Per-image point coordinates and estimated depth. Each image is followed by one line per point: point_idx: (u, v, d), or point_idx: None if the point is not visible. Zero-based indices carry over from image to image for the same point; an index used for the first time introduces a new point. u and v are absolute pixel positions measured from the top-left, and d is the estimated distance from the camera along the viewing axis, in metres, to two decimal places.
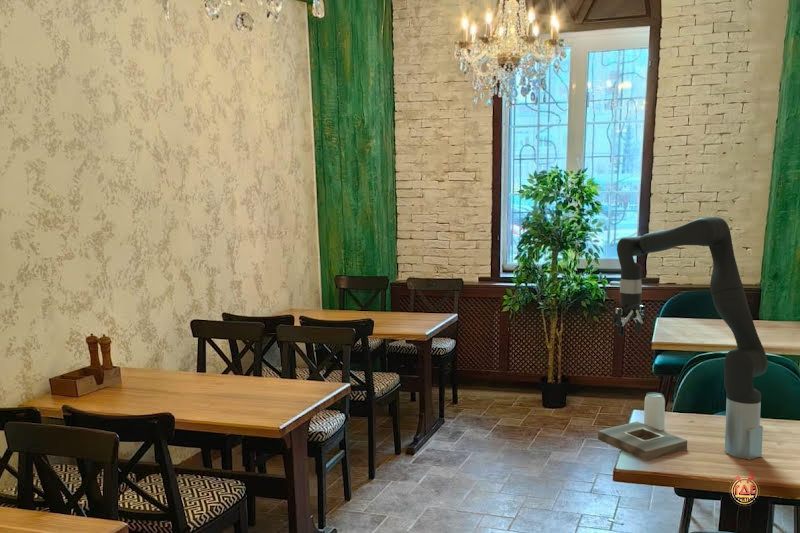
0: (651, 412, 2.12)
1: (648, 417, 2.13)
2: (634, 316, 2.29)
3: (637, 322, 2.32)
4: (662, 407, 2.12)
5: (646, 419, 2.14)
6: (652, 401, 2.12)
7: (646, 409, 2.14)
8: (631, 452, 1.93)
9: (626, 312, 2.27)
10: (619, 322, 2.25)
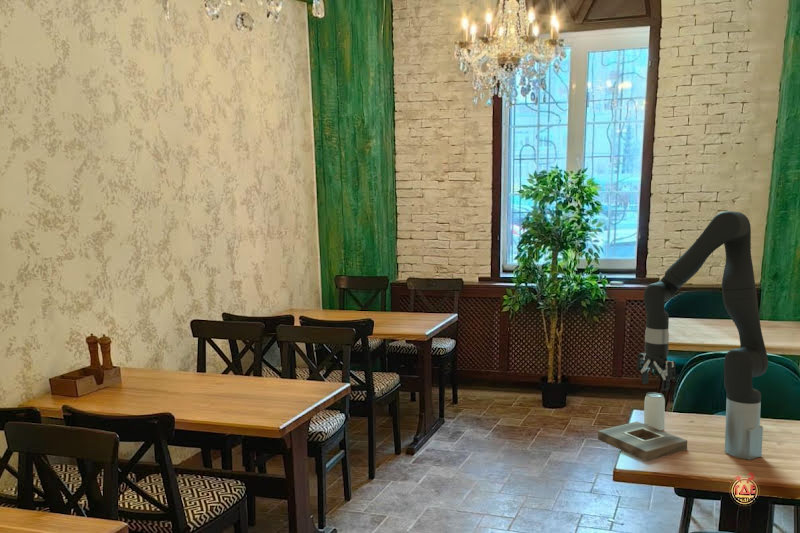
0: (651, 412, 2.12)
1: (648, 417, 2.13)
2: None
3: (645, 372, 2.17)
4: (662, 407, 2.12)
5: (646, 419, 2.14)
6: (652, 401, 2.12)
7: (646, 409, 2.14)
8: (631, 452, 1.93)
9: None
10: None
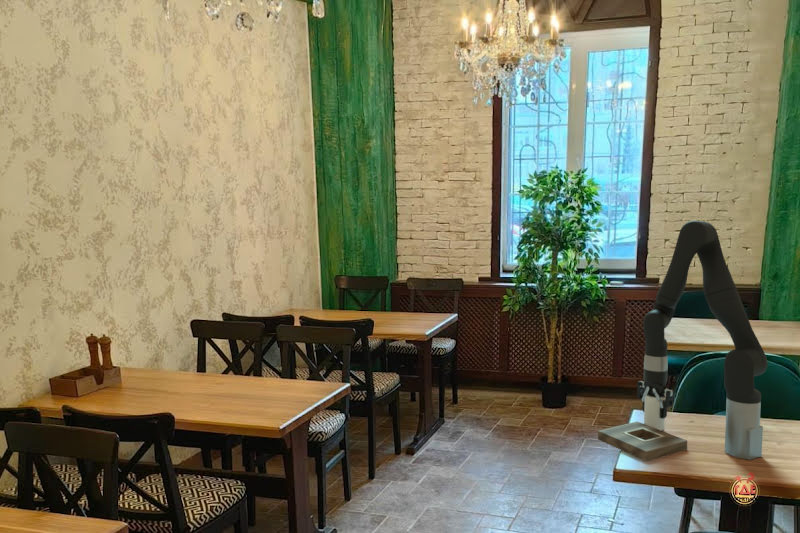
0: (651, 412, 2.12)
1: (648, 417, 2.13)
2: None
3: None
4: None
5: (646, 419, 2.14)
6: (652, 401, 2.12)
7: (646, 409, 2.14)
8: (631, 452, 1.93)
9: None
10: None
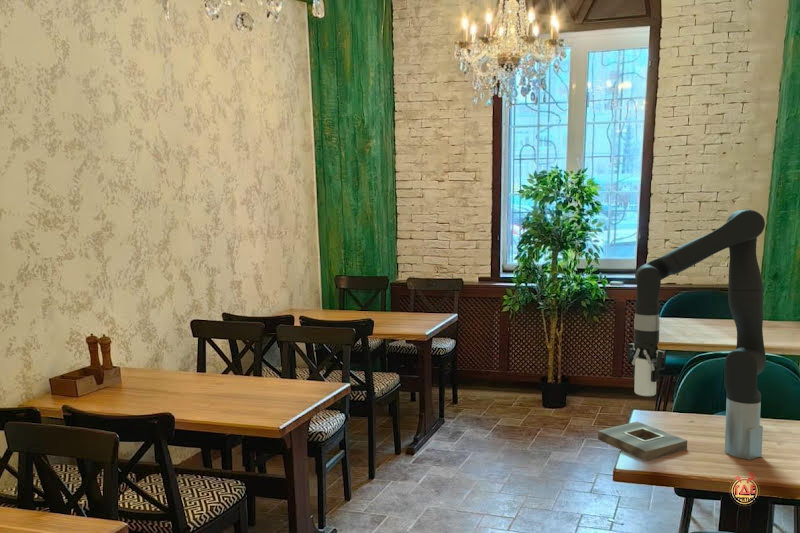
0: (642, 376, 1.97)
1: (639, 380, 1.98)
2: None
3: None
4: None
5: (637, 383, 1.99)
6: (642, 364, 1.97)
7: (636, 372, 1.99)
8: (631, 452, 1.93)
9: None
10: None
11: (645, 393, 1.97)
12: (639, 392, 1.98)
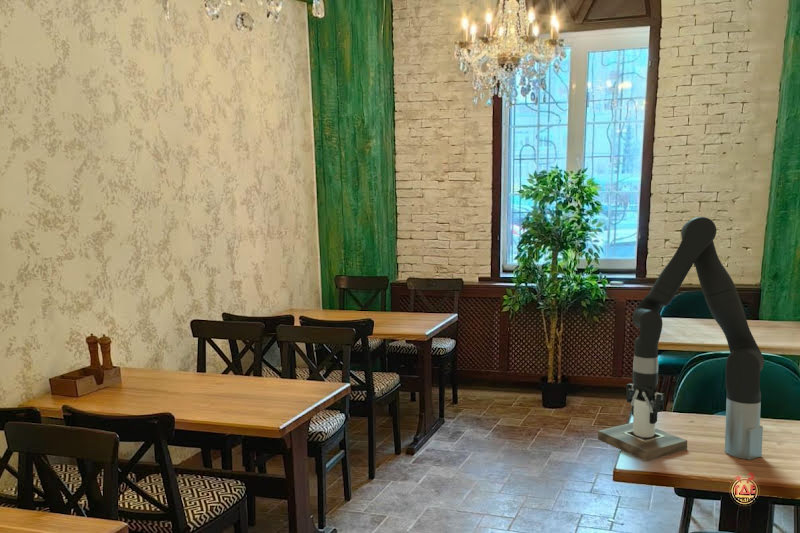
0: (640, 417, 1.99)
1: (638, 422, 1.99)
2: None
3: None
4: None
5: (635, 425, 2.00)
6: (641, 405, 1.98)
7: (635, 414, 2.00)
8: (631, 452, 1.93)
9: None
10: None
11: (644, 435, 1.99)
12: (638, 433, 2.00)
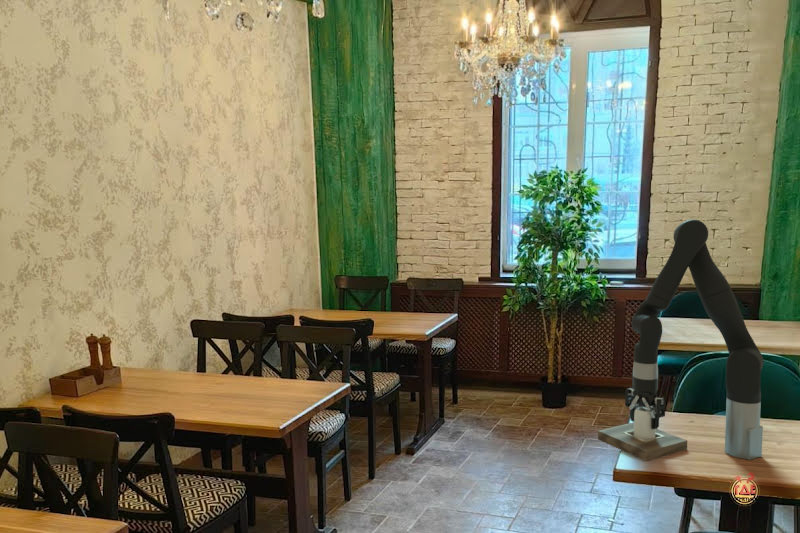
0: (641, 427, 1.98)
1: (638, 431, 1.99)
2: None
3: (634, 408, 2.04)
4: None
5: (636, 434, 2.00)
6: (642, 415, 1.98)
7: (636, 423, 2.00)
8: (631, 452, 1.93)
9: None
10: None
11: None
12: None
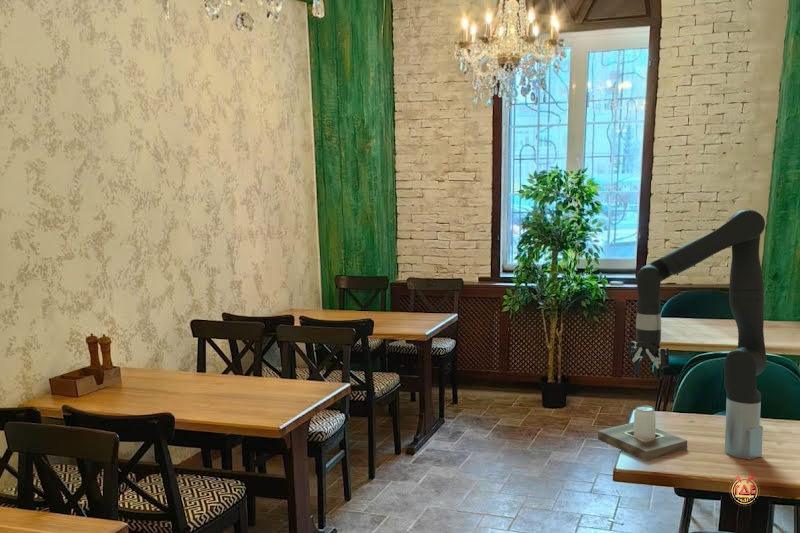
0: (641, 427, 1.98)
1: (638, 431, 1.99)
2: None
3: (637, 361, 2.05)
4: (653, 421, 1.98)
5: (636, 434, 2.00)
6: (641, 415, 1.98)
7: (636, 423, 2.00)
8: (631, 452, 1.93)
9: None
10: None
11: None
12: None
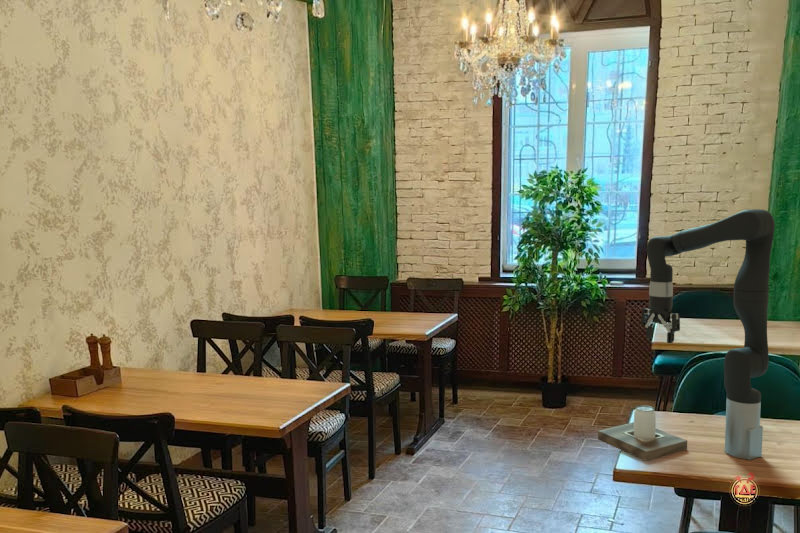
0: (641, 427, 1.98)
1: (638, 431, 1.99)
2: None
3: (650, 326, 2.19)
4: (653, 421, 1.98)
5: (636, 434, 2.00)
6: (641, 415, 1.98)
7: (636, 423, 2.00)
8: (631, 452, 1.93)
9: None
10: None
11: None
12: None
